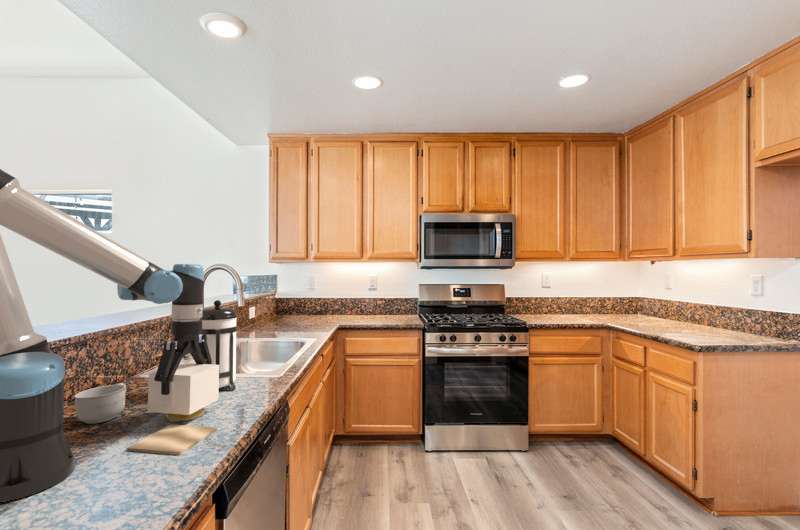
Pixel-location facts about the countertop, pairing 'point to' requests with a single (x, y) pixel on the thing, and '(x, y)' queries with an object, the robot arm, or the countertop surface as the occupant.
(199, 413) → the bread roll
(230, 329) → the coffee press
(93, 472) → the countertop surface
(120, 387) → the teacup
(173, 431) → the board
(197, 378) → the cover
